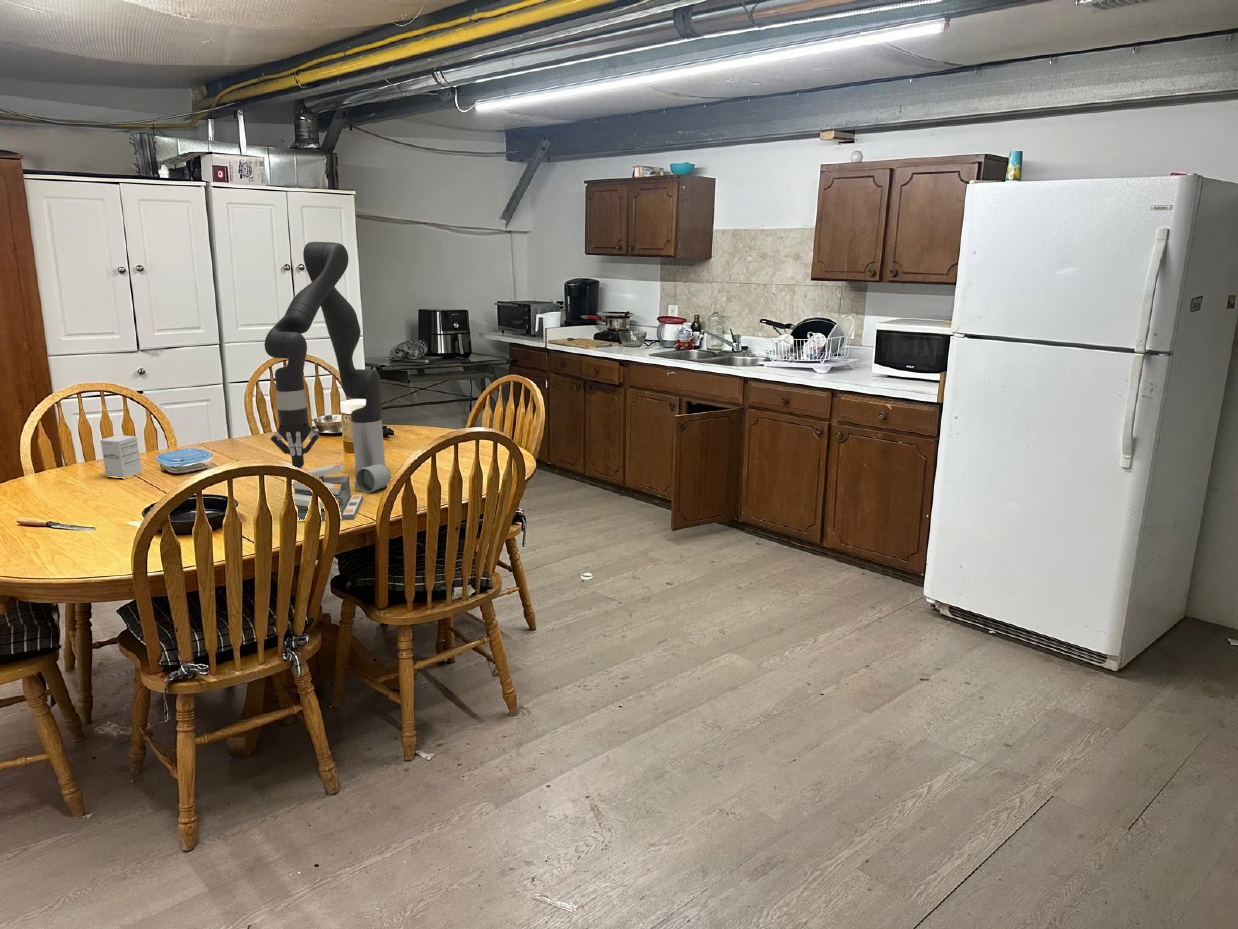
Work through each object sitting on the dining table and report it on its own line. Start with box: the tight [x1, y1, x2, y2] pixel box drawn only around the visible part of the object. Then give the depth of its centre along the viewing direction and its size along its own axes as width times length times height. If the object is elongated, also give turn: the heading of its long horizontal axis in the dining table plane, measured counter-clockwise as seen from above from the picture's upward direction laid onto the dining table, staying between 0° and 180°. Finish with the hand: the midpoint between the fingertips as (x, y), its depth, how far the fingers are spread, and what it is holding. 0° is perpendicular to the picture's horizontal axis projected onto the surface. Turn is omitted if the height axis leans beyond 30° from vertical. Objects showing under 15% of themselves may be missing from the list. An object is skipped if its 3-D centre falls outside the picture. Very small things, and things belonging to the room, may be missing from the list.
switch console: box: [293, 475, 364, 522], centre depth 238 cm, size 18×18×8 cm
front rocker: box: [292, 493, 339, 509], centre depth 232 cm, size 4×12×2 cm, turn 98°
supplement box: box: [100, 434, 143, 478], centre depth 270 cm, size 7×7×13 cm
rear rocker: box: [306, 461, 345, 477], centre depth 242 cm, size 4×12×2 cm, turn 98°
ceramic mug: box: [353, 464, 392, 494], centre depth 257 cm, size 11×8×8 cm
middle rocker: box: [293, 480, 341, 495], centre depth 237 cm, size 4×12×2 cm, turn 98°
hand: (298, 468), depth 235 cm, fingers closed
